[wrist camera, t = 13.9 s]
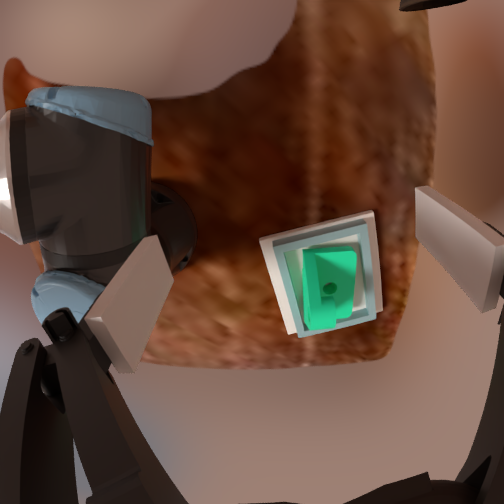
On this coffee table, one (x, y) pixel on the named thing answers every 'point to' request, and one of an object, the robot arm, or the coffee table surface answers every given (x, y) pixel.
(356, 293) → the dock
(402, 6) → the flared trumpet-armed statue
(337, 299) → the camera mount
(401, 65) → the coffee table surface
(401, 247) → the coffee table surface
